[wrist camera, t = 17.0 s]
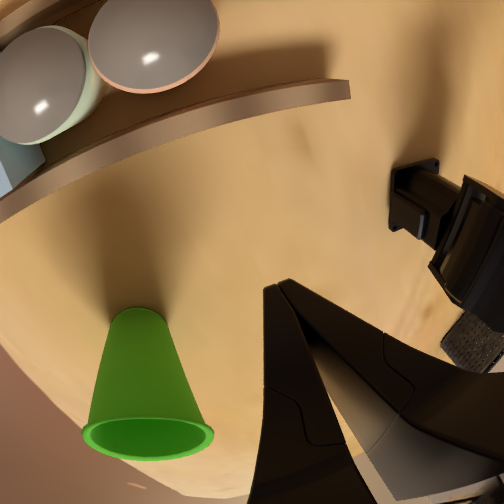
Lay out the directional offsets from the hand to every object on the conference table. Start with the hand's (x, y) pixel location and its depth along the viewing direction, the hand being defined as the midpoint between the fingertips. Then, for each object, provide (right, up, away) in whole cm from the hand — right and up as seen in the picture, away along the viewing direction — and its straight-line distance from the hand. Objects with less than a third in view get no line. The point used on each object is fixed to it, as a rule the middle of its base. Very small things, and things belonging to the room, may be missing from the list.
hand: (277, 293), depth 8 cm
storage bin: (+54, -11, +43) cm, 70 cm away
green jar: (-12, +11, +3) cm, 17 cm away
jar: (-6, +13, +4) cm, 15 cm away
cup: (-11, -5, +15) cm, 19 cm away
